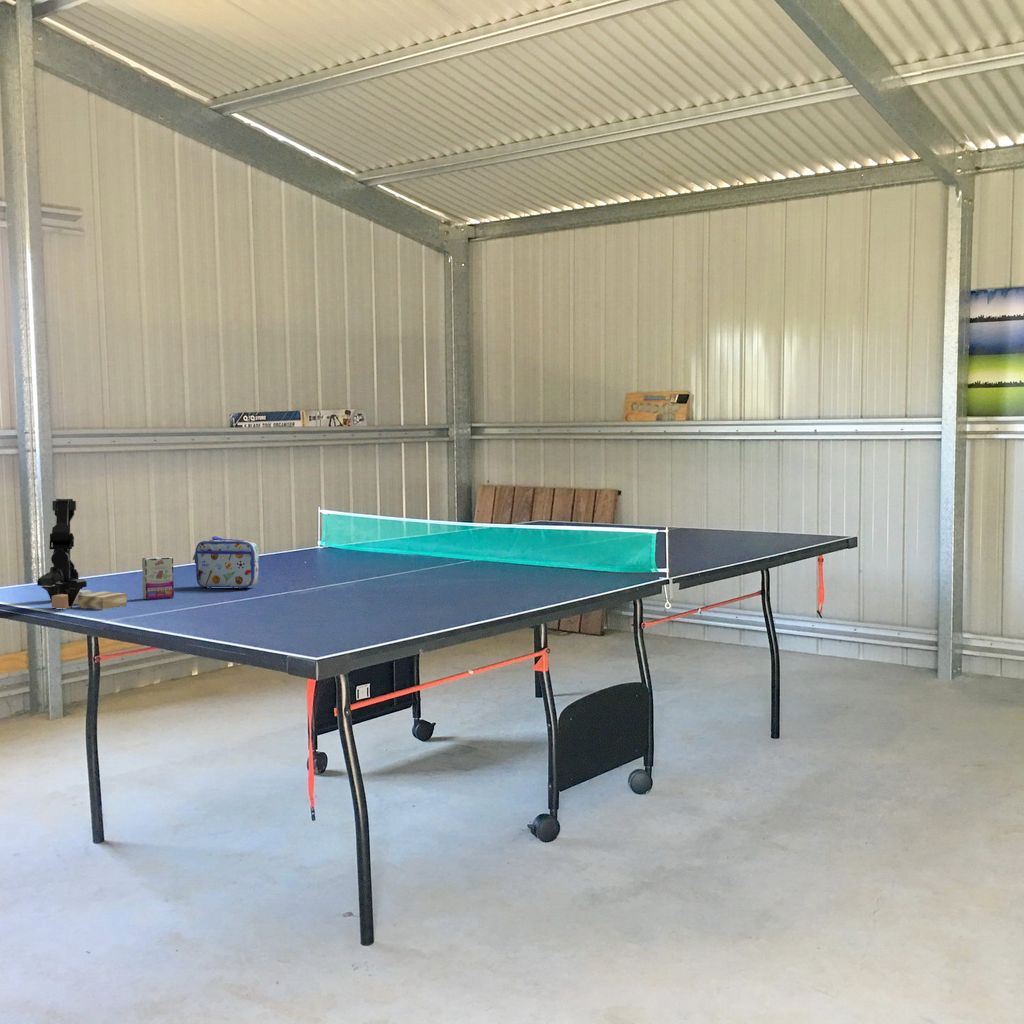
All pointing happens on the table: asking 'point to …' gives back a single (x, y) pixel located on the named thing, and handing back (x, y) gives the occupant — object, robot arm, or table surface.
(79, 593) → the white cube
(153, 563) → the candy bar box
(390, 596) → the table surface
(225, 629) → the table surface
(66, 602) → the terracotta cube
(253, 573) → the lunch box
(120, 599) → the maple block
